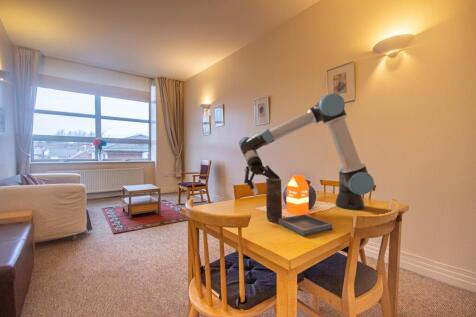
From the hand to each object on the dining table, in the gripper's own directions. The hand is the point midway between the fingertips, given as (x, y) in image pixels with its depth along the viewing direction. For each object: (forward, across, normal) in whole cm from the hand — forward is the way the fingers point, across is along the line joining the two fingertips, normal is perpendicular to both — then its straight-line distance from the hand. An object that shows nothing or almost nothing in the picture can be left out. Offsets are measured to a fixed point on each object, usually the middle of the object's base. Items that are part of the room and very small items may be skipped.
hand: (268, 192), depth 110 cm
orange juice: (+8, -19, -9) cm, 23 cm away
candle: (+11, -1, -6) cm, 13 cm away
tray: (+21, -7, +4) cm, 22 cm away
